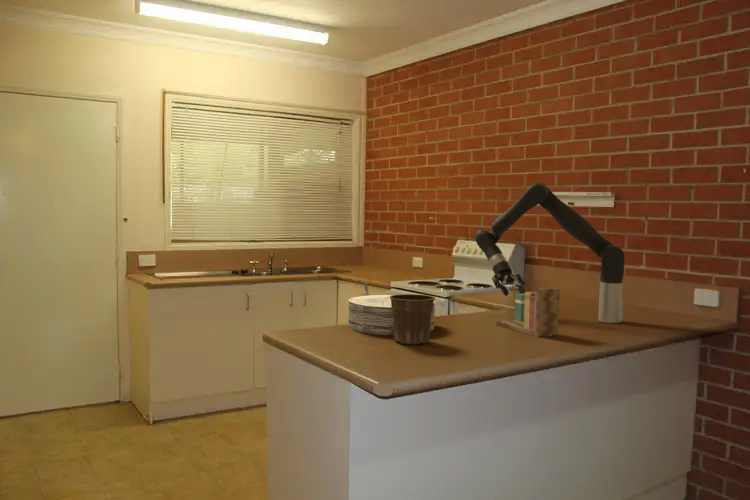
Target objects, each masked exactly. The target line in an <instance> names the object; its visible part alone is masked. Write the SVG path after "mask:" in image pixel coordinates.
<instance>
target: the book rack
mask: <svg viewBox="0 0 750 500" xmlns="http://www.w3.org/2000/svg"><path fill="white" fill-rule="evenodd" d="M560 290H561V288H558V287H551V288H536V291H527V292H526V291H525V293H524V294H525V307H524V322H521V321H517V320H515V319H514V320H513V319H512V320H498V321H496V326H498V327H501V326H502V328H505V329H508V328H509V329H508V330H511V329H512V330H511V331H515V330H516V332H518V331H519V333H523V334H525V333H526V335H529V336H532V335H533V337H536V338H540V336H543V337H551V336H552V335H554V336H559V317H560V316H559V315H560ZM552 337H553V336H552Z"/></svg>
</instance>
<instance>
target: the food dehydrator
mask: <svg viewBox="0 0 750 500" xmlns="http://www.w3.org/2000/svg"><path fill="white" fill-rule="evenodd" d="M367 279H368V278H366V279H365V284H364V285H363V286H364V292H365V295H360V296H354V297H351V298H349V299H348V315H347V316H348V323H347V325H348V326H349V327H348V328H349V329H350V328H351V329H353V330H352V331H354V330H356V331H355V332H357V331H359V332H358V333H361V332H363V333H362V334H367V333H368V335H377V336H394V321H393V309H392V307H391V299H390V296H392V295H393V294H373V295H371V294H369V292H370V291H369V288H368V280H367ZM435 303H436V301H434V304H433V309H432V314H431V323H430V332H432V331H434V330H435V309H436V307H435V306H436V304H435ZM351 329H350V330H351ZM430 332H429V333H430Z"/></svg>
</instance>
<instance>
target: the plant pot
mask: <svg viewBox="0 0 750 500" xmlns="http://www.w3.org/2000/svg"><path fill="white" fill-rule="evenodd" d="M391 295H392V296H390V299H391V307H392V309H393V321H394V342H395V343H399V344H401V345H402V344H404V345H407V346H408V345H409V346H410V345H412V346H413V345H421V344H423V345H425V344H427V343H429V340H430V323H431V314H432V309H433V304H434V302H435V300H436V297H435V296H433V295H425V294H411V293H410V294H409V293H408V294H391Z"/></svg>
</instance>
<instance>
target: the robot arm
mask: <svg viewBox="0 0 750 500" xmlns="http://www.w3.org/2000/svg"><path fill="white" fill-rule="evenodd" d="M538 205H539V206H541V207H542V208H543V209H545V210H546V211H547V212H548V213H549V214H550V216H552V218H553V219H554V220H555V221H556V223H557V224H558V226H560V227H561V229H563V230H564V231H565V232H566V233H568V235H570V236H571V237H573V238H574V239H575V240H577V241H578V242H580V243H581V244H582V245H584V246H586V247H587V248H588V249H590V250H591V251H592V252H593V253H594V254H595V255H596V256H597V257H598V258H599V259H600V260H601V261H600V267H601V268H600V276H599V295H598V296H599V298H598V322H602V323H608V324H620V323H622V322H623V321H624V319H623V315H624V300H623V282H624V275H625V274H624V273H625V257H626V256H625V252H624V251H623V249H622V248H620V247H619V246H617V245H616V244H614V243H612V242H611V241H609V240H608V239H606V238H605V237H603V236H602V235H601V234H600V233H599V232H598V231H597V230H596V228H594V226H593V225H592V224H591V223H590V222H589V220H586V218H585V217H583V215H581V214H580V213H579V212H577V211H576V210H574V209H573V208H572V207H570V206H569V205H568V204H567V203H566V202H563V201H562V200H561V199H560V198H558V197H557V196H556V195H555V193H554V192H553V191H551V189H550V188H549V187H548V186H547V185H546V184H544V183H542V182H535V183H532V184H531V185H529V186H528V187H527V189H526V191H524V193H523V194H522V196H521V197H520V198H519V199H518V200H517V201H516V202H515V203H514V204H513V205H512V206H510V207H509V208H508V209H507V210H506V211H504V212H503V213H502V214H500V215H499V216H498V217H497V218H496V219H494V221H492V223H491V230H490V231H488V230H486V229H479V230H477V232H476V233H475V236H474V238H475V242H476V244H477V246H478V247H479V248H480V250H481V251H482V252H483V253H484V255H485V257H486V259H487V261H488V263H489V266H490V268H491V270H492V271H493V273H494V275H493V276H492V278H491V279H492V282H493V284H494V287H495V289H499V290H501V292H502V293H503V295H504V296H505V297H507V296H509V294H510V293H509V291H508V289H507V286H512V287H515V288H517V290H518V293H519V294H525V292H526V291H525V289H524V286H525V284H526V283H525V281H524V280H523V278H522V276H521V275H520V273H517V274H516V275H514V274H513V270H512V268H511V266H510V264H509V262H508V260H507V258H506V257H505V256H504V254H503V252H502V251H501V249H500V247H499V246H498V245H497V243H498V242H499V241H500V239H501V237H502V236H503V234H505V233H506V232H507V231H508V230H510V228H512V227H513V225H515V224H516V223H517V221H519V220H520V219H521V217H522V216H524V215H525V214H526V213H528V212H529V211H530V210H531V209H533V208H534V207H536V206H538Z"/></svg>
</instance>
